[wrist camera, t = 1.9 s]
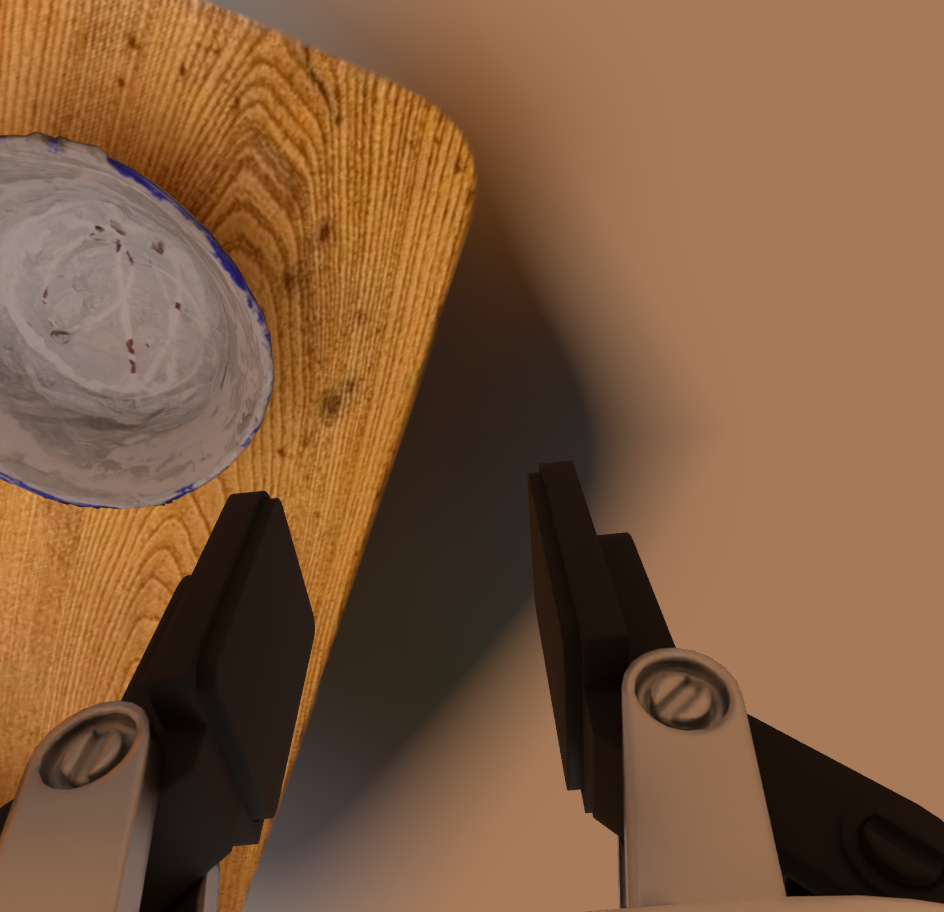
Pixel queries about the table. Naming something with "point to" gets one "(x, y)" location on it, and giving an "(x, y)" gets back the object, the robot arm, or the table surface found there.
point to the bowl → (118, 334)
